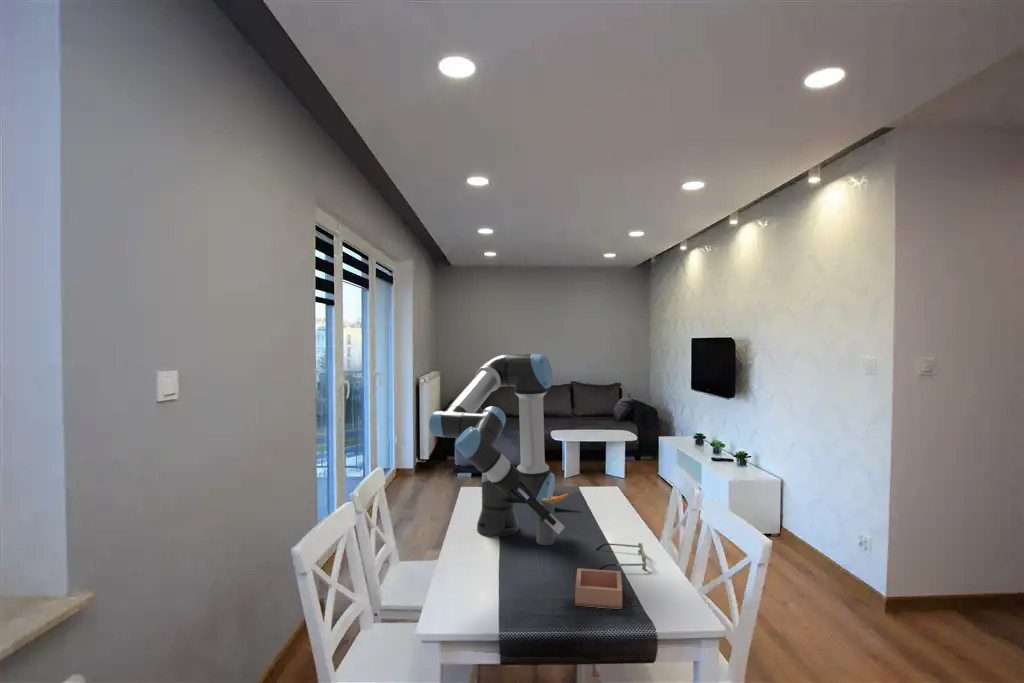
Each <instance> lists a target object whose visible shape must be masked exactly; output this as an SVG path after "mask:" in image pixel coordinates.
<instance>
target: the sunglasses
mask: <svg viewBox="0 0 1024 683" xmlns="http://www.w3.org/2000/svg"><path fill="white" fill-rule="evenodd" d="M637 544H638V545H637ZM637 544H636V545H634V544H622V543H603V544H602V545H600V546H598V547H596V550H598V551H599V550H600V549H601V548H603V547H604V546H617V547H626V548H627V547H628V548H629V547H630V548H631V547H632V548H638V550H637V553H638V556H639V555H641V556H640V557H641V561H642V562H640V563H614V564H612V563H611V564H610V563H608V564H605V565H603V566H601V567H599V568H597V569H596V570H604V568H606V567H609V566H610V567H613V566H616V567H617V566H619V567H626V566H627V567H631V566H632V567H634V566H636V567H637V566H640V567H642V569H644V568H646V569H647V565H648V563H647V561H646V560H647V558H646V557H647V556H646V552H645V550H644V547H643V545H644V544H643V542H638V543H637ZM596 550H595V551H596Z"/></svg>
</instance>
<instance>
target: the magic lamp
mask: <svg viewBox="0 0 1024 683" xmlns="http://www.w3.org/2000/svg"><path fill="white" fill-rule="evenodd" d="M573 494H574V492H566V493H563V494H562V495H559V496H555V495H554V496H553V495H552V498H551V501H553V502H554V504H557V503H559V502H561V501H562V500H564V499H565V498H566V497H568V496H569V495H573Z"/></svg>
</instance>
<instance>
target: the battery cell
mask: <svg viewBox="0 0 1024 683" xmlns="http://www.w3.org/2000/svg"><path fill="white" fill-rule="evenodd" d="M538 502H539V503H540V504H541V505H542V506H543V507H544V508H545V509H546V510H548V511H549V512H550V513H551V514H552V515H553V516H554V517H555V503H554V502H553V501H550V499H549V498H542V499H541V500H540V501H538ZM536 543H537V544H538V545H543V546H549V545H552V544H554V543H555V531H554V530H553V529H552V528H551V527H550V526H549V525H548V524H547V523H546V522H545V521H544V520H543V521H541V516H540V515H539V514H537V513H536Z"/></svg>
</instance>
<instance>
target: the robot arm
mask: <svg viewBox="0 0 1024 683" xmlns="http://www.w3.org/2000/svg"><path fill="white" fill-rule="evenodd" d="M552 384H553V370H552V365H551V362H550V360H549V358H548V356H546V355H544V354H538V353H517V354H516V353H515V354H514V353H504V354H499V355H498V356H494V357H492V358H491V359H489V360H488V361H486V362H485V363H483V364H482V365H481V366H480V367H479V368H478V369H477V370H476V371H475V373H474V378H472V380H471V381H470V382H469V384H467V386H466V387H465V388H464V389H463V391H461V393H460V394H459V395H458V396H457V397H456V398H455V399H454V400H453V401H452V403H450V404H449V406H447V408H446V409H445V410H444V411H443V410H437V411H433V412H432V413H431V415H430V417H429V419H428V420H429V421H428V427H429V428H428V429H429V432H430V433H431V434H432V435H433V436H434V437H440V438H441V437H442V438H455V439H456V441H455V444H454V446H455V448H456V449H457V450H458V452H459V453H460V454H461V455H462V456H463V458H465V459H466V460H467V461H469V463H470V464H472V465H473V467H475V468H476V469H477V470H478V471H479V472H480V473H481V482H480V483H481V510H480V513H479V517H478V520H477V524H476V531H477V533H478V534H480V533H481V535H483V536H486V535H487V537H493V536H501V537H508V536H511V535H514V534H516V533H518V531H519V521H518V518H517V516H516V512H515V508H514V504H517V505H525V506H526V505H527V506H529V508H530V509H532V510H533V511H534V512H535V513H536V515H537V514H539V515H540V516H541V521H543V520H544V521H545V522H546V523H547V524H548V525H549V526H550V527H551V528H552V529H553V530H554V533H557V535H560V533H562V531H564V529H565V528H566V527H565V525H564V524H563V523H561V522H560V521H559V519H558V518H556V517H555V515H554V516H553V515H552V514H551V513H550V512H549V511H548V510H546V509H545V508H544V507H543V506H542V505H541V504H540V503H539V502H538V501H540V500H541V499H542V498H549V499H550V501H551V498H552V496H553V495H554V490H555V484H556V477H555V474H554V473H552V472H550V466H549V465H548V464H547V463H546V461H545V460H546V458H545V457H546V456H545V423H544V416H545V415H544V397H545V395H546V394H547V393H548V389H549V388H551V387H552ZM501 387H507V388H511V387H513V390H514V392H513V393H514V394H515V395H516V396H517V397H518V412H519V413H518V414H519V415H518V416H519V418H518V419H519V443H520V445H519V446H520V448H519V450H520V462H519V465H517V467H516V466H515V465H514V464H513V463H511V462H510V460H509V459H508V458H507V456H505V455H504V454H503V453H502V452H500V451H499V449H497V447H496V443H497V441H498V440H499V438H500V436H501V433H502V432H503V430H504V427H505V425H506V421H507V417H506V414H505V413H504V411H503V410H502V409H501V408H500V407H497V406H492V405H491V406H488V407H485V408H484V409H483V410H482V411H481V412H477V411H478V410H479V409H480V407H481V406H482V404H484V402H485V401H486V400H487V398H488V397H489V396H490V395H491V393H493V392H495V391H497V390H498V389H499V388H501Z"/></svg>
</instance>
